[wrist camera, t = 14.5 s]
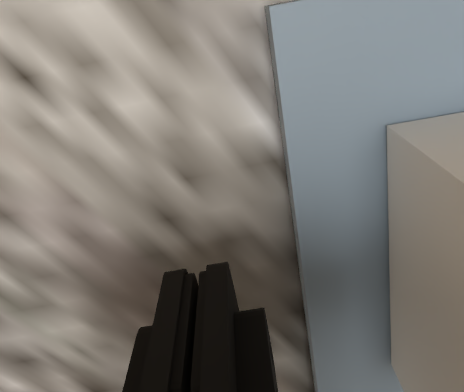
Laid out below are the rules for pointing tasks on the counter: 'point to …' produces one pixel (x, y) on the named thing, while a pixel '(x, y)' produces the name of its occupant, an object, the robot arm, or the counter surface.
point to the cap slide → (427, 252)
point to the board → (354, 158)
